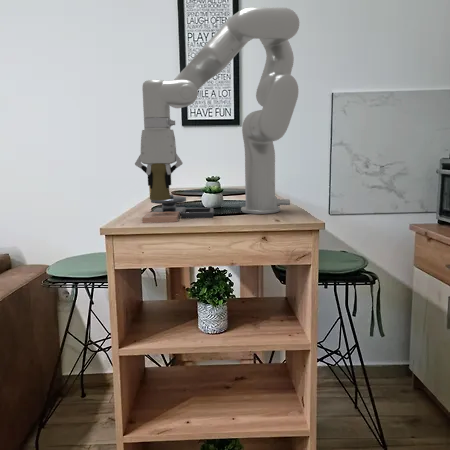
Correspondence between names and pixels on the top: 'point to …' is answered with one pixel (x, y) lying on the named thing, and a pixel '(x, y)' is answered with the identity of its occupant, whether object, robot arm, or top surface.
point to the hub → (169, 208)
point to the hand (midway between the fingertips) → (159, 187)
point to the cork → (159, 183)
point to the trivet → (161, 217)
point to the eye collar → (197, 213)
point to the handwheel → (173, 199)
